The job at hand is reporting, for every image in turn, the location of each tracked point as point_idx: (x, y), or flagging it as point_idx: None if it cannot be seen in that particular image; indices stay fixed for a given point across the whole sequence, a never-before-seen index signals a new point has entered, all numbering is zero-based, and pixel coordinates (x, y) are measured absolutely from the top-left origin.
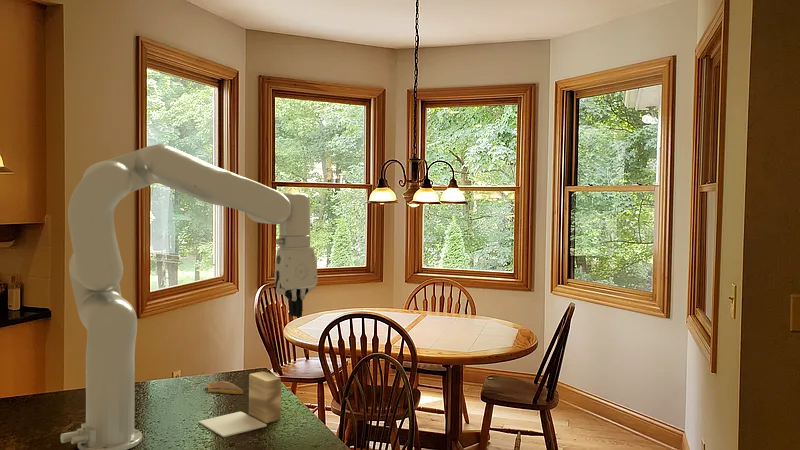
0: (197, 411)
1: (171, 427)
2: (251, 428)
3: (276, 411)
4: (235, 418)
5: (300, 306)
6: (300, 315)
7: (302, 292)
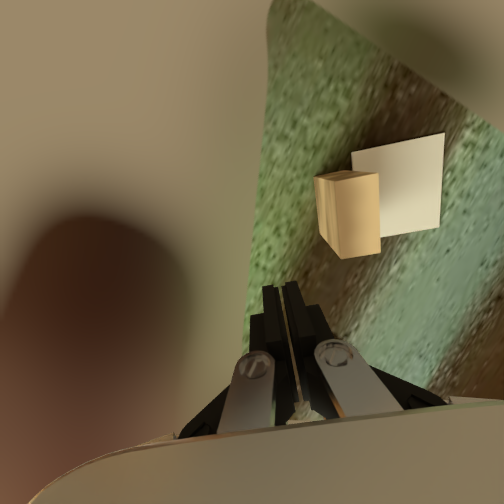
0: (410, 279)
1: (482, 226)
2: (385, 145)
3: (326, 175)
4: (382, 210)
5: (277, 312)
6: (272, 285)
7: (256, 407)
